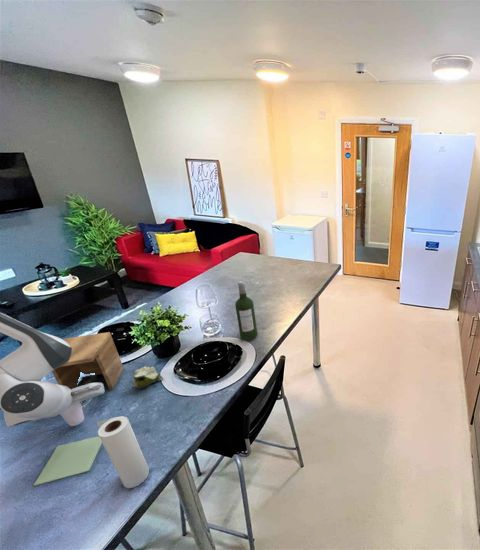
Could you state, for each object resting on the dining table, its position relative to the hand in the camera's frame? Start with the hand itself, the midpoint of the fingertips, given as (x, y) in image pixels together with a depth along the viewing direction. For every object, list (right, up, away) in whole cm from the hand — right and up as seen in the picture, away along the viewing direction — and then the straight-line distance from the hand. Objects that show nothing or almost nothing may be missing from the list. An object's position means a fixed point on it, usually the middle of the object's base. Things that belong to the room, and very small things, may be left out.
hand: (68, 403), depth 93 cm
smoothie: (0, -7, +3) cm, 8 cm away
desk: (-8, -2, +18) cm, 20 cm away
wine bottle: (+38, +11, +51) cm, 64 cm away
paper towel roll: (+31, -17, -10) cm, 36 cm away
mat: (+9, -14, -7) cm, 18 cm away
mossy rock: (+10, -1, +21) cm, 23 cm away
